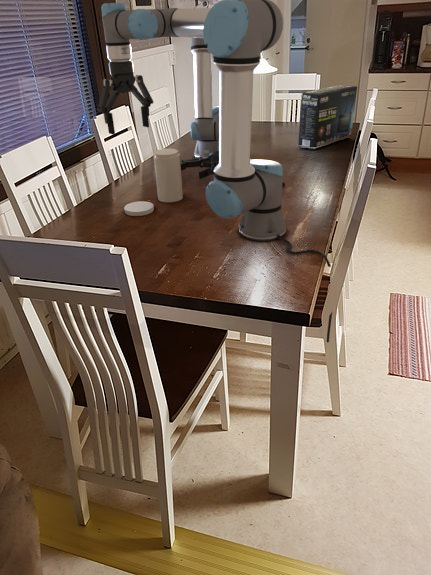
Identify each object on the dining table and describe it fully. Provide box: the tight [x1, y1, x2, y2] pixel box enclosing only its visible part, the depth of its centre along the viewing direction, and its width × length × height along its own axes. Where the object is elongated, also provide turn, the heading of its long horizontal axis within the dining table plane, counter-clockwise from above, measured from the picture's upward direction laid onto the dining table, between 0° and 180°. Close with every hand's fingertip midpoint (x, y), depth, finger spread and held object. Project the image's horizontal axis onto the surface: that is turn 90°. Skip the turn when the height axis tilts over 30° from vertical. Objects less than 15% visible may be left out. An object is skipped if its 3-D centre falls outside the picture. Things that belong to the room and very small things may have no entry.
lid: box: [123, 200, 155, 217], centre depth 170 cm, size 11×11×2 cm
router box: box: [297, 84, 358, 151], centre depth 238 cm, size 36×11×27 cm, turn 134°
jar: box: [153, 148, 184, 203], centre depth 176 cm, size 10×10×18 cm
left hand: (186, 172), depth 183 cm, fingers open, 13 cm apart
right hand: (129, 130), depth 155 cm, fingers open, 13 cm apart
